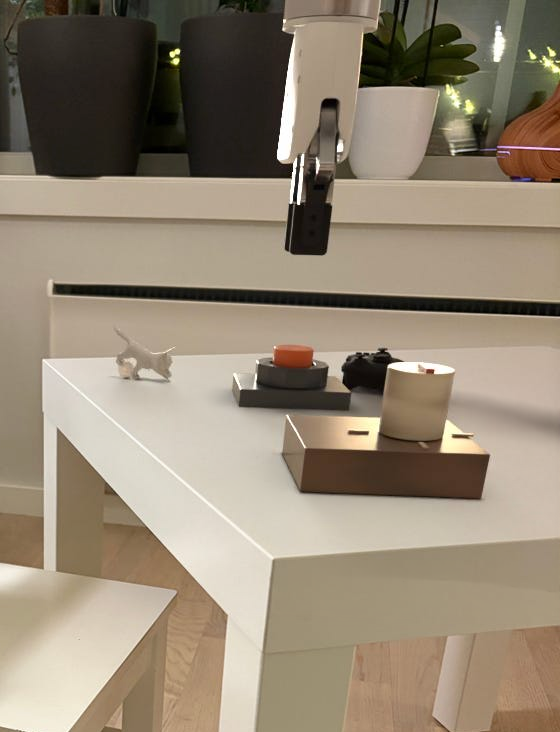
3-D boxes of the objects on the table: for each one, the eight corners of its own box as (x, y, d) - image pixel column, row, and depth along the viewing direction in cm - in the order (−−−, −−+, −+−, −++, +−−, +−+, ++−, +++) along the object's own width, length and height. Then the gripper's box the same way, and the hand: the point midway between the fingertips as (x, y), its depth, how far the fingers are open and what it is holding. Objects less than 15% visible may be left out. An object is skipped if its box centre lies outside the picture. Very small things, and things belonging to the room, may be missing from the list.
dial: (371, 425, 70) (381, 356, 68) (432, 427, 70) (445, 358, 68) (386, 440, 66) (397, 368, 64) (451, 442, 66) (464, 370, 64)
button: (308, 364, 92) (310, 345, 92) (314, 371, 89) (316, 351, 88) (270, 363, 93) (272, 344, 92) (274, 369, 89) (276, 350, 89)
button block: (334, 393, 96) (338, 357, 94) (349, 411, 88) (354, 372, 87) (232, 390, 96) (235, 354, 95) (238, 407, 89) (242, 368, 87)
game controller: (420, 386, 93) (364, 340, 93) (383, 427, 96) (328, 382, 96) (422, 370, 101) (370, 327, 101) (388, 408, 104) (337, 366, 104)
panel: (445, 459, 74) (452, 417, 72) (486, 498, 65) (495, 452, 63) (281, 453, 74) (286, 412, 73) (299, 491, 65) (305, 445, 64)
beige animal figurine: (145, 406, 99) (181, 365, 97) (88, 351, 99) (123, 308, 96) (153, 400, 102) (188, 360, 99) (98, 347, 102) (132, 305, 99)
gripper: (273, 23, 86) (253, 246, 94) (298, -9, 71) (272, 259, 79) (359, 24, 86) (331, 248, 94) (402, -7, 71) (365, 261, 79)
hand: (304, 251), depth 86 cm, fingers open, 3 cm apart
